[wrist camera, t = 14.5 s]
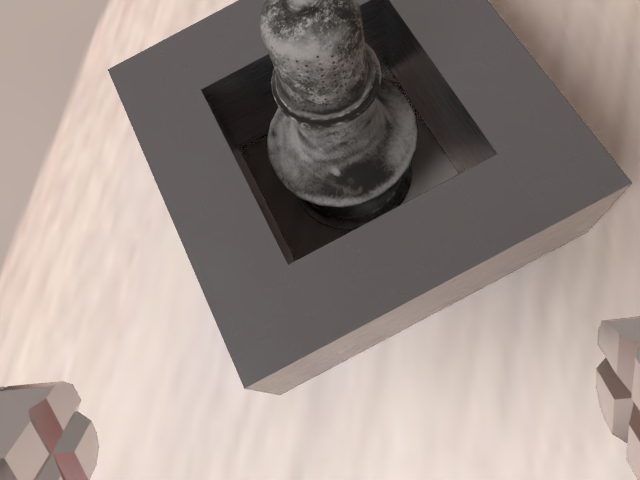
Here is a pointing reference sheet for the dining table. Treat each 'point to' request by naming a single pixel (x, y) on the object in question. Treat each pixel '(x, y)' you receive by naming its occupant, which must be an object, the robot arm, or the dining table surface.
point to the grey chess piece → (335, 114)
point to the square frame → (388, 229)
